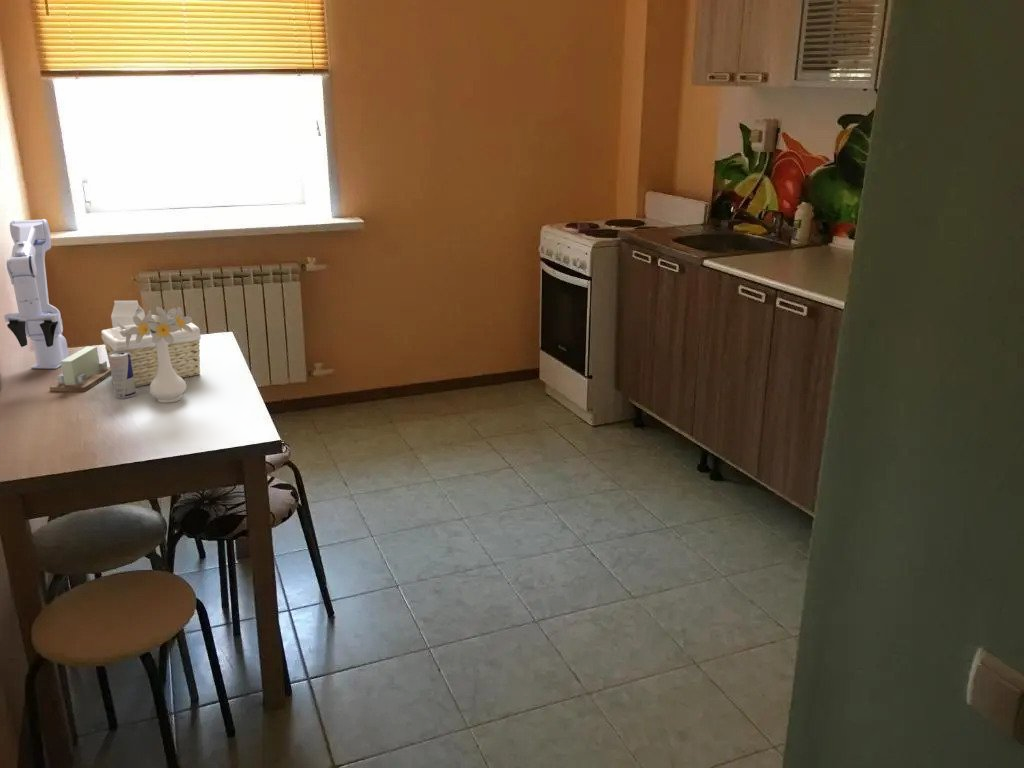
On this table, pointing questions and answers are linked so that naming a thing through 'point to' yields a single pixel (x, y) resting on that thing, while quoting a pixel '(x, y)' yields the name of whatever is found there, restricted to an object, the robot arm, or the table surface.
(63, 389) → the mount plate
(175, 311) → the flower vase
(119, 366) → the energy drink
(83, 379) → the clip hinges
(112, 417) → the table surface
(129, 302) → the milk carton
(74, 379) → the door panel
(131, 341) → the storage basket
